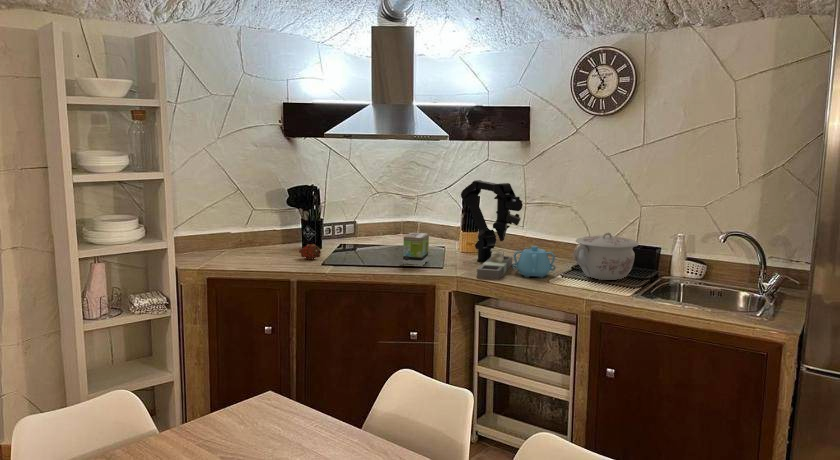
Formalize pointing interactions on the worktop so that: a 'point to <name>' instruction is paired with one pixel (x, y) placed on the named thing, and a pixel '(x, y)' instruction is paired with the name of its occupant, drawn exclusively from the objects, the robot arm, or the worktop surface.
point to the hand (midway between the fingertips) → (502, 240)
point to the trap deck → (494, 268)
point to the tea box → (415, 248)
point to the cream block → (497, 256)
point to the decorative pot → (534, 262)
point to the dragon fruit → (310, 251)
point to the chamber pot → (605, 256)
